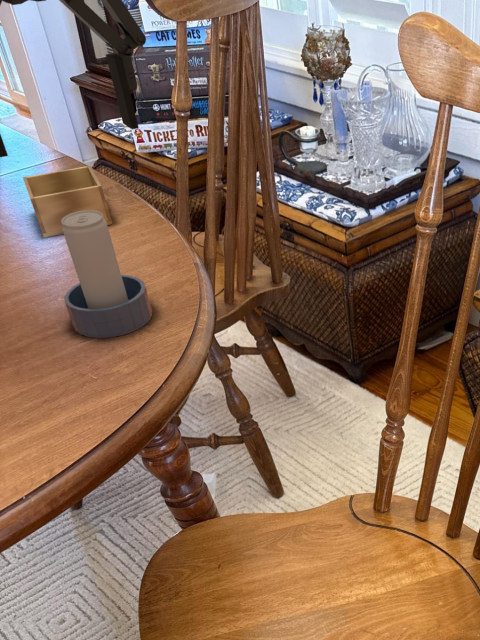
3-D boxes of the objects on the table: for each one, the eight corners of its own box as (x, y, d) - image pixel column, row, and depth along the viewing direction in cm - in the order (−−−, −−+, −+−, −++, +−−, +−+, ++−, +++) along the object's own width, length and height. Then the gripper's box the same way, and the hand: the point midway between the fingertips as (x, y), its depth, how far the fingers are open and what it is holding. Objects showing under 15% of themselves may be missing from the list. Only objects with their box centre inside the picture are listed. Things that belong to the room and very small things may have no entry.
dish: (77, 344, 91) (68, 317, 89) (70, 310, 98) (61, 283, 95) (158, 327, 94) (150, 300, 91) (145, 294, 100) (138, 268, 98)
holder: (43, 237, 115) (30, 198, 111) (35, 214, 121) (22, 177, 117) (112, 224, 117) (101, 185, 114) (101, 202, 124) (90, 165, 120)
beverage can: (89, 328, 93) (56, 228, 85) (94, 309, 97) (63, 211, 89) (130, 323, 94) (101, 224, 86) (134, 305, 97) (106, 207, 89)
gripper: (-171, -116, 59) (-51, 176, 74) (143, -138, 69) (194, 123, 83) (-182, -120, 64) (-67, 155, 78) (114, -141, 73) (167, 107, 88)
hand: (68, 139), depth 81 cm, fingers open, 13 cm apart
